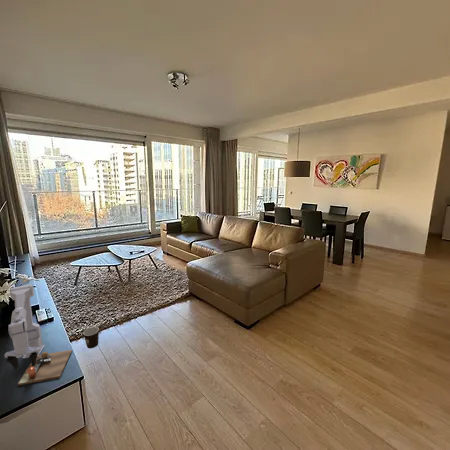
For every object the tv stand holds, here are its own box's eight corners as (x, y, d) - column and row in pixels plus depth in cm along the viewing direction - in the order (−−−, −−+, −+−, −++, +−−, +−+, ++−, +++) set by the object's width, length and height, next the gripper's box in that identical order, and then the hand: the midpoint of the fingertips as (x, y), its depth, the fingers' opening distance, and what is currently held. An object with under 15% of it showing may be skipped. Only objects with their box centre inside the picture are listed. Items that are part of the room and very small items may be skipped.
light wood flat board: (35, 357, 144) (34, 350, 143) (72, 351, 149) (71, 344, 148) (17, 385, 125) (16, 378, 124) (60, 378, 130) (58, 370, 129)
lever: (38, 360, 140) (36, 353, 139) (52, 358, 142) (51, 350, 141) (26, 380, 127) (24, 371, 126) (42, 377, 129) (40, 368, 128)
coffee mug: (102, 345, 155) (100, 331, 153) (87, 351, 149) (85, 337, 147) (96, 336, 163) (94, 323, 161) (81, 342, 157) (80, 328, 155)
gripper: (-2, 351, 117) (4, 375, 120) (33, 346, 121) (38, 369, 124) (7, 341, 124) (12, 364, 127) (40, 337, 128) (44, 359, 131)
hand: (25, 366), depth 126 cm, fingers open, 7 cm apart
